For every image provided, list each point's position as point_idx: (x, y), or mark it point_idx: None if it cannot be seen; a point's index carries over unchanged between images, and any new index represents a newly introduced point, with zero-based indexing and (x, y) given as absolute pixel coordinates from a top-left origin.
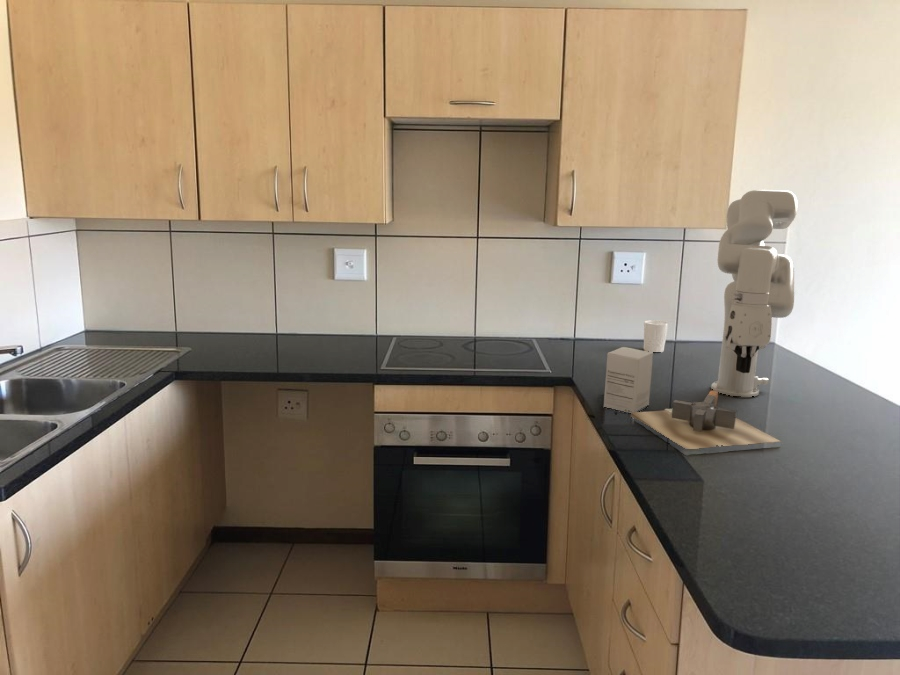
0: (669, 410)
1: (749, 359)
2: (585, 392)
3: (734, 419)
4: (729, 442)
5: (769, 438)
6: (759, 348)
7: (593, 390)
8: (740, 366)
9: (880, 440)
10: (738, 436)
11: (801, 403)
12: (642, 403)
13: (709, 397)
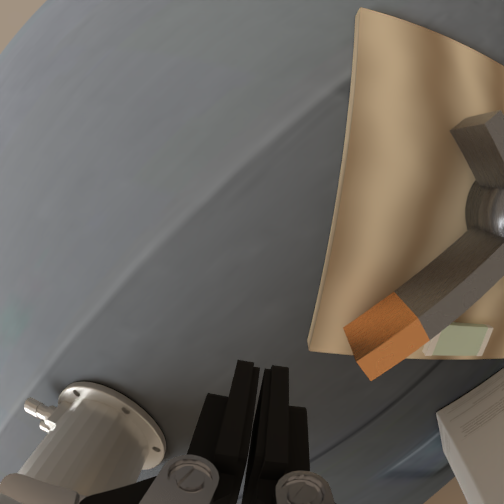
0: (484, 341)
1: (241, 441)
2: (447, 481)
3: (485, 114)
4: (502, 81)
5: (379, 34)
6: (69, 498)
7: (426, 490)
8: (305, 416)
9: (44, 19)
10: (459, 94)
11: (9, 293)
12: (482, 400)
13: (456, 306)
